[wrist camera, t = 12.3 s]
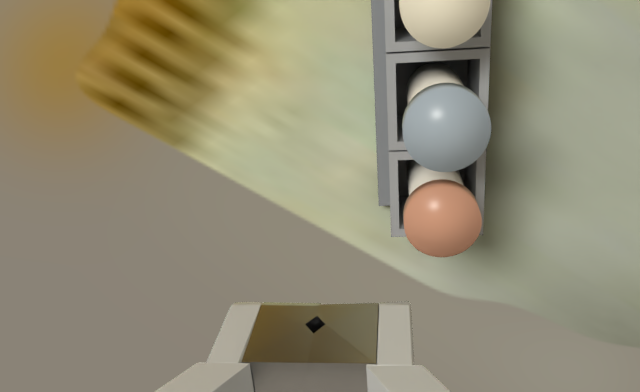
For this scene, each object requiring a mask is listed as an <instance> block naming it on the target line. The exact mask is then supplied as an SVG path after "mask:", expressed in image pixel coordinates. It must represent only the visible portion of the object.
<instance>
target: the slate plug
mask: <svg viewBox="0 0 640 392" xmlns="http://www.w3.org/2000/svg"><path fill="white" fill-rule="evenodd" d="M406 96H407V104H408V105H407V107H406V109H405V112H404V115H403V120H402V131H403V140H404V144H405V147H406V149H407V151H408V153H409V154H410V156H411V157H412V158H413V159H414V160H415V161H416V162H417V163H418V164H420V165H421V166H423V167H425V168H427V169H429V170H433V171H438V172H452V171H457V170H460V169H463V168H465V167H467V166H469V165H470V164H472V163H473V162H475V161H476V160H477V159H478V158H479V157H480V156H481V155H482V153H483V152H484V151H485V149H486V147H487V145H488V143H489V140H490V136H491V121H490V117H489V114H488V112H487V110H486V108H485V106H484V104H483V103H482V101H481V100H480V98H479V97H478V96H477V95H476V94H475V93H474V92H473V91H472V90H470V89H469V88H467V87H465V86H464V85H463V84H462V82H461V80H460V78H459V76H458V74H457V73H456V72H455V71H454V70H453V69H452V68H451V67H449V66H447V65H445V64H442V63H429V64H426V65H423V66H421V67H419V68H418V69H417V70H416V71H414V73H413V74H412V75H411V76H410V78H409V80H408V83H407V87H406Z"/></svg>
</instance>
